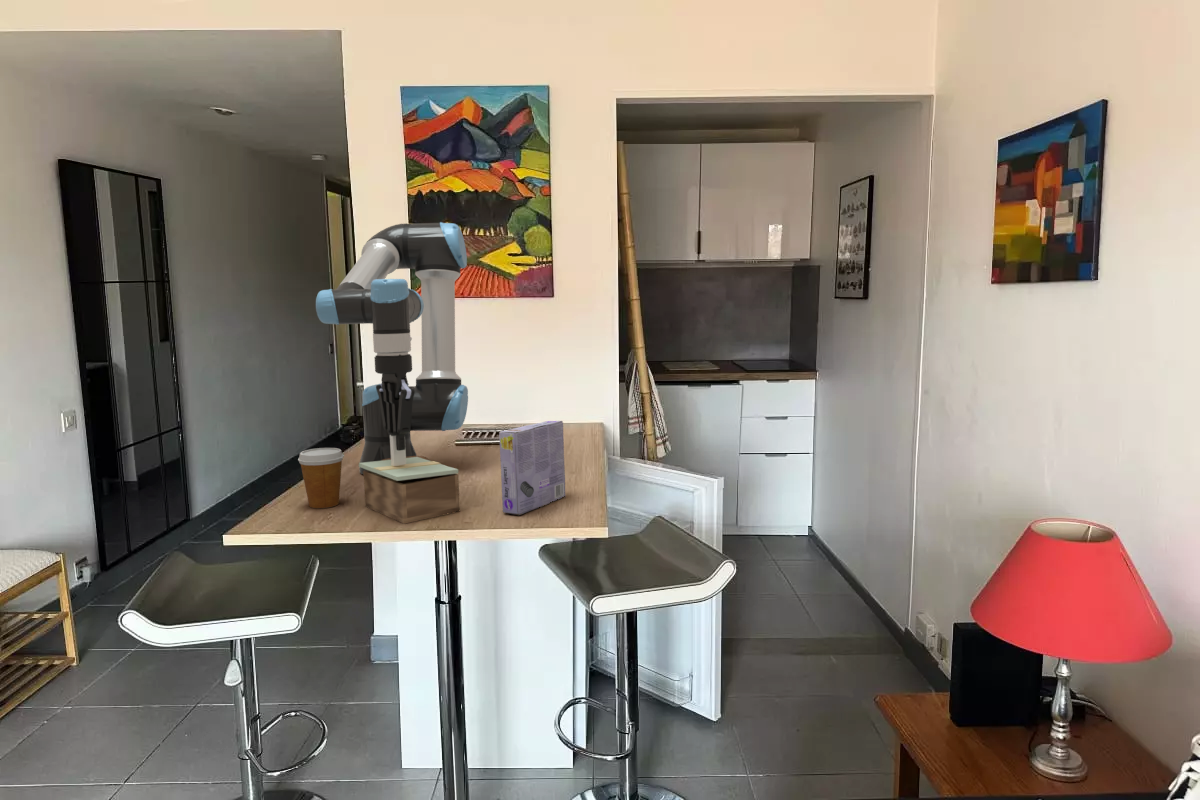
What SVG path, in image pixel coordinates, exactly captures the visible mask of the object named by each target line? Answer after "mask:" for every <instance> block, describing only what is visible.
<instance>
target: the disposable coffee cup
mask: <svg viewBox="0 0 1200 800" xmlns="http://www.w3.org/2000/svg"><path fill="white" fill-rule="evenodd" d="M344 456H345V455H344V454H343V452H342V450H341V449H340V448H337V447H319V448H318V447H317V448H310V449H306V450H303V451H301V452H299V457H298V459H297V461H298V462H299V464H300V468H301V472H302V478H303V482H304V487H305V491H306V493H305V494H306V497H307V498H306V499H307V502H308V507H310V508H311V509H312V508H313V509H327V508H332V507H336V506H338V505H339V504H340V494H341V493H340V491H341V478H342V477H341V475H342V462H343V458H344Z"/></svg>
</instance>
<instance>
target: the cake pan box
mask: <svg viewBox="0 0 1200 800" xmlns="http://www.w3.org/2000/svg"><path fill="white" fill-rule="evenodd" d="M563 421H564V420H546V421H541V422H537V423H533V424H527V425H522V426H519V427H514V428H510V429H505V430H501V431H499V433H498V434H499V435H498V437H499V455H500V456H499V457H500V477H501V501H502V512H503V513H506V514H510V515H516V516H522V515H523V514H525V513H528V512H530V511H531V512H532V511H533V510H536V509H540V508H543V507H544V505H545V506H546V505H549V504H551V503H553V502H555V501H558V500H560V499H563V498H562V497H564V496H565V497H566V472H565V470H566V469H565V444H564V442H565V441H564V422H563ZM565 497H564V498H565ZM557 499H558V500H557ZM552 501H553V502H552ZM550 502H551V503H550ZM539 507H540V508H539Z"/></svg>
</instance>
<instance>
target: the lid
mask: <svg viewBox="0 0 1200 800" xmlns="http://www.w3.org/2000/svg"><path fill="white" fill-rule="evenodd" d="M429 460H430V459H429ZM429 460H426V459H422V458H419V457H411V458H406V464H405V465H399V466H392V465H391V460H383V461H373V462H364V463H360V462H358V467H361V468H364V469H366V470H369V471H372V472H374V473H377V474H380V475H383V476H385V477H388V478H391V479H394V480H396V481H400V480H408V479H416V478H424V477H432V476H440V475H448V474H459V469H458V468H454V467H452V466H447V465H445V464H442V463H441V462H438V461H434V460H430V461H429Z"/></svg>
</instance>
